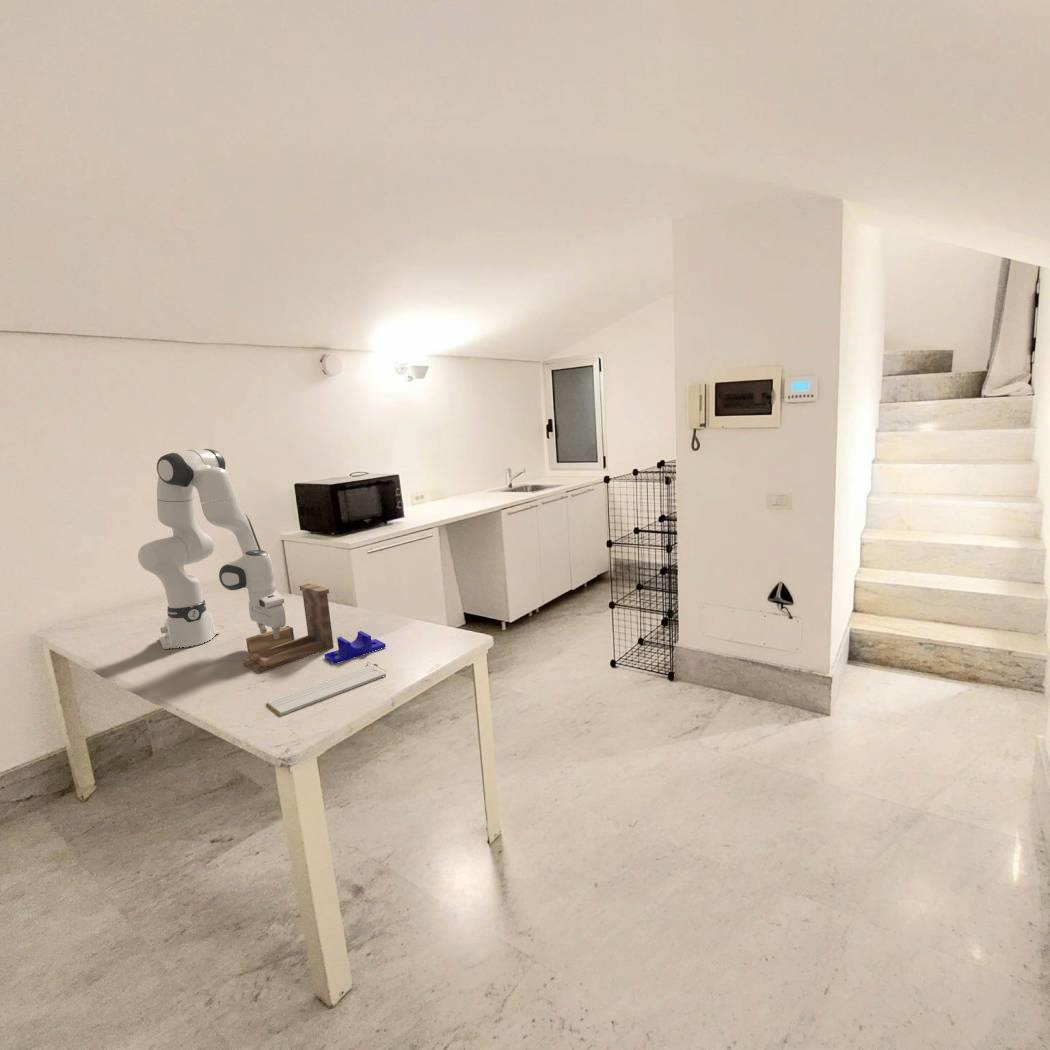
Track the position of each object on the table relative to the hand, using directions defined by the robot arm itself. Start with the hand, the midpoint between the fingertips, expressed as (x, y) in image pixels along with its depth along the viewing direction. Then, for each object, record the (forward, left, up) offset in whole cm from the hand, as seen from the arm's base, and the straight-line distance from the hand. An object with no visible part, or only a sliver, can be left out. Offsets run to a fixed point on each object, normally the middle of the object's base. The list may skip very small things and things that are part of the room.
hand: (269, 636), depth 205 cm
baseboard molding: (+47, -6, -5) cm, 48 cm away
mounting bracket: (+30, +14, -5) cm, 34 cm away
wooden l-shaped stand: (+13, 0, -4) cm, 14 cm away
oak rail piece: (-1, 0, -4) cm, 4 cm away
